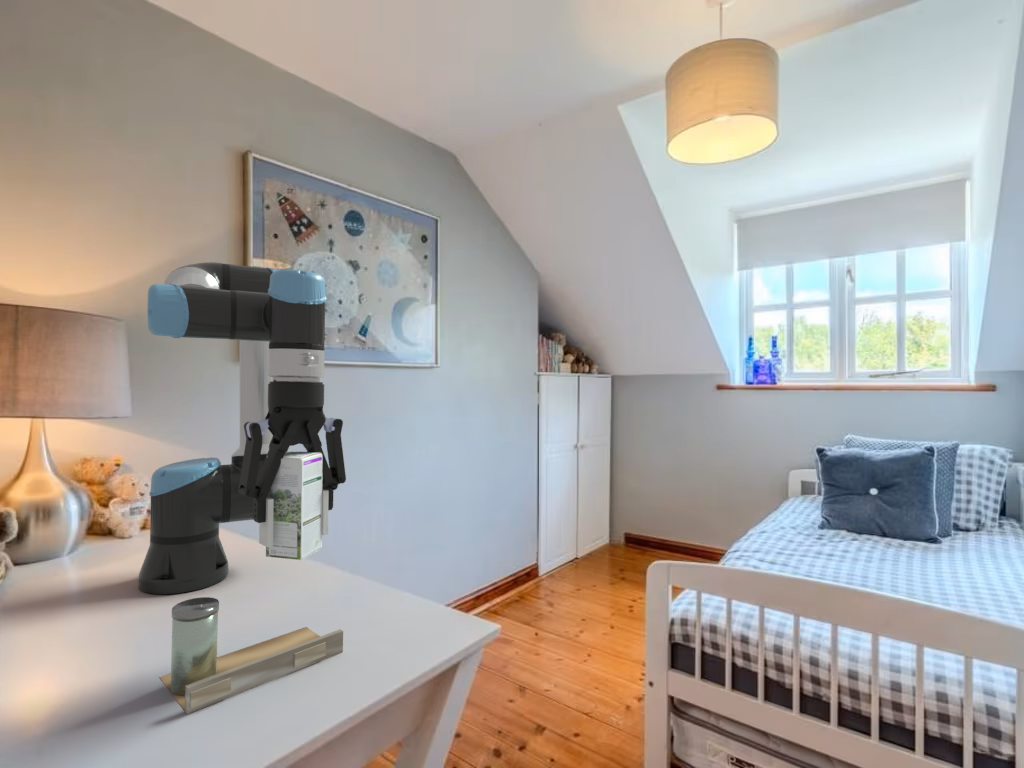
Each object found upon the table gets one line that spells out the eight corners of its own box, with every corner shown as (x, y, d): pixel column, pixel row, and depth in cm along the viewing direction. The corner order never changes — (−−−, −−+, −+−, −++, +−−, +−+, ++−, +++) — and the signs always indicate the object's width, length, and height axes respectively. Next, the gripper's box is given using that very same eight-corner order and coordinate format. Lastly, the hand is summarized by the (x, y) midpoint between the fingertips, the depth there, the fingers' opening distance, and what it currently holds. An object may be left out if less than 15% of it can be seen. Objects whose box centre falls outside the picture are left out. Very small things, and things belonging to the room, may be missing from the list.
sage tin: (163, 684, 69) (165, 605, 68) (207, 668, 73) (210, 593, 72) (177, 701, 65) (180, 618, 65) (223, 684, 69) (225, 605, 69)
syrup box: (323, 548, 80) (324, 451, 80) (300, 561, 74) (301, 456, 74) (288, 545, 81) (290, 449, 81) (263, 558, 76) (264, 454, 75)
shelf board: (159, 686, 70) (159, 654, 70) (306, 634, 85) (306, 607, 85) (187, 725, 63) (188, 689, 63) (343, 660, 78) (344, 631, 77)
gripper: (232, 379, 68) (229, 561, 68) (372, 380, 83) (370, 530, 83) (210, 378, 73) (208, 548, 73) (346, 380, 88) (344, 520, 88)
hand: (294, 538), depth 78 cm, fingers closed on syrup box, 7 cm apart
